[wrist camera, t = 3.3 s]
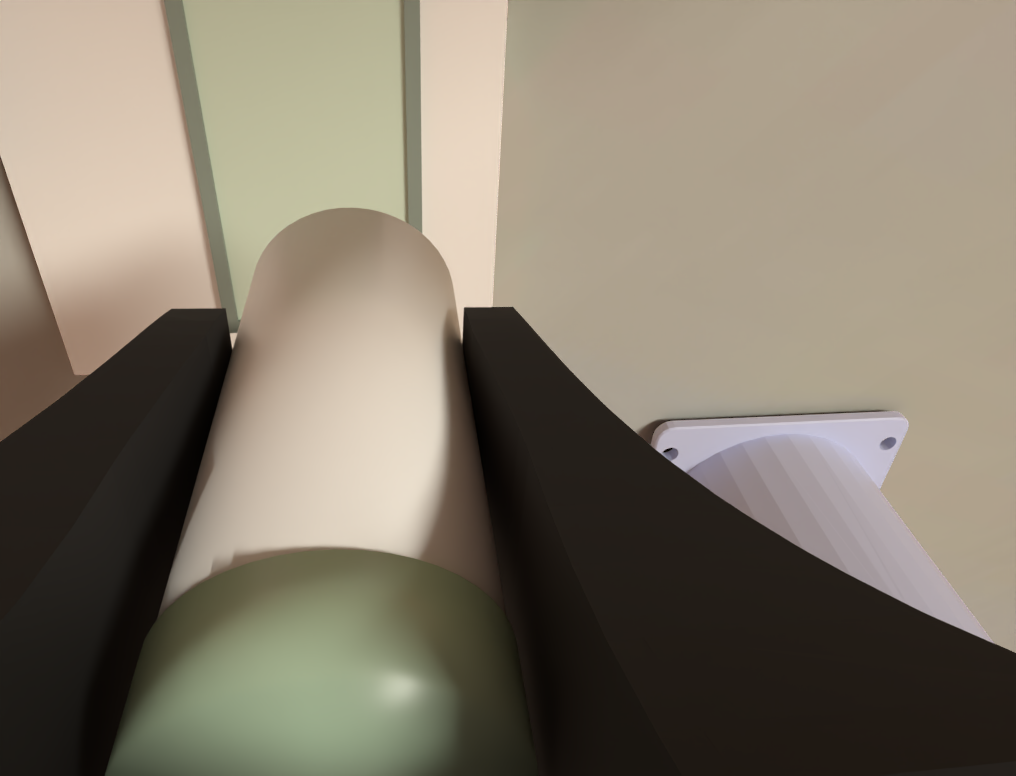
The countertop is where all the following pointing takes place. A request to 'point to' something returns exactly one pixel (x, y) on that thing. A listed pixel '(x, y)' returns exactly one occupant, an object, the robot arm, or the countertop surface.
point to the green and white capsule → (336, 539)
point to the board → (239, 143)
